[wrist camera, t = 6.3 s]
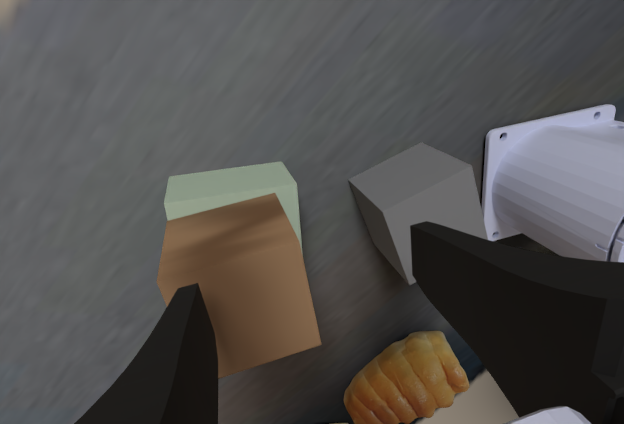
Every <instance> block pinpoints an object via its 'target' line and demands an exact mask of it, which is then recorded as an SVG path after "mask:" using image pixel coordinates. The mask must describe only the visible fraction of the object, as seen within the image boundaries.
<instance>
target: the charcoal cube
mask: <svg viewBox="0 0 624 424" xmlns="http://www.w3.org/2000/svg"><path fill="white" fill-rule="evenodd" d="M348 181H349V183H350V186H351V188H352V191H353V193H354V196H355V198H356V201H357V203H358V206H359V208H360V211H361V213H362V216H363V218H364V221H365V223H366V226H367V228H368V231H369V233H370V236H371V238H372V241H373V243H374V245H375V246H376V247H377V248H378V249H379V251H380V252H381V253H382V254H383V255H384V256H385V257H386V259H387V260H388V261H389V262H390V263H391V264H392V266H393V267H394V268H395V269H396V270H397V271H398V273H399V274H400V275H401V276H402V277H403V278H404V280H405V281H406V282H407V283H408V284H409V285H411V284H413V283H415V282H416V280H415V278H414V277H413V275H412V256H411V233H410V225H414V224H418V223H422V222H425V221H428V222H432V223H436V224H439V225H443V226H446V227H449V228H452V229H455V230H458V231H461V232H464V233H467V234H470V235H474V236H477V237H480V238H483V239H486V240H488V237H487V232H486V228H485V223H484V219H483V214H482V210H481V205H480V201H479V196H478V192H477V187H476V183H475V178H474V174H473V169H472V166H471V165H469V164H467V163H465V162H463V161H461V160H458V159H456V158H454V157H452V156H450V155H448V154H446V153H443V152H441V151H439V150H437V149H435V148H433V147H430V146H428V145H426V144H424V143H422V142H421V143H419V144H417V145H415V146H413V147H411V148H409V149H407V150H405V151H403V152H401V153H399V154H397V155H395V156H393V157H391V158H389V159H387V160H385V161H384V162H382V163H380V164H378V165H376V166H374V167H372V168H370V169H368V170H366V171H364V172H362V173H360V174H358V175H356V176H354V177H352V178H350V179H348Z"/></svg>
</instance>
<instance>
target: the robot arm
mask: <svg viewBox="0 0 624 424" xmlns="http://www.w3.org/2000/svg"><path fill="white" fill-rule="evenodd" d="M594 114H595V115H594ZM614 116H615V106H613V105H610V104H605V105H601V106H596V107H592V108H587V109H583V110H578V111H574V112H569V113H565V114H560V115H555V116H551V117H546V118H542V119H537V120H533V121H528V122H524V123H519V124H515V125H510V126H506V127H501V128H496V129H493V130H490V131H489V132H488V134H487V135H486V142H485V158H484V175H483V192H482V209H481V210H482V214H483V219H484V223H485V228H486V232H487V237H488V240H486V239H483V238H480V237H477V236H474V235H470V234H467V233H464V232H461V231H458V230H455V229H452V228H449V227H446V226H443V225H439V224H436V223H432V222H428V221H425V222H422V223H418V224H414V225H410V233H411V256H412V275H413V277H414V278H415V280H416V282H417V283H418V285H419V286H420V288H421V289H422V291H423V292H424V294H425V295H426V297H427V298H428V299H429V301H430V302H431V303H432V304H433V305H434V306H435V308H436V309H437V310H438V311H439V312H440V313H441V314H442V316H443V317H444V318H445V319H446V320H447V321H448V322H449V323H450V325H451V326H452V327H453V328H454V329H455V330H456V331H457V332H458V334H459V335H460V336H461V337H462V338H463V339H464V340H465V342H466V343H467V344H468V345H469V346H470V347H471V349H472V350H473V351H474V352H475V354H476V355H477V356H478V357H479V359H480V360H481V362H482V363H483V364H484V366H485V367H486V369H487V370H488V371H489V373H490V374H491V376H492V377H493V378H494V380H495V381H496V383H497V384H498V386H499V387H500V389H501V390H502V392H503V393H504V395H505V396H506V398H507V399H508V400H509V402H510V403H511V405H512V407H513V408H514V409H515V411H516V413H517V414H518V416H519V418H517V419H514V420H512V421H509V422H507V423H504V424H624V122H619V121H614ZM502 133H503V136H502V138H501V139H500V135H501V134H502ZM494 232H495V234H494V235H493V233H494ZM521 233H523V234H524V235H526V236H528V237H529V238H531V239H533V240H534V241H536V242H538V243H539V244H541V245H543V246H545V247H546V248H548V249H550V250H551V251H553V252H555V253H556V254H558V255H560V256H556V255H549V254H544V253H539V252H534V251H529V250H524V249H520V248H516V247H512V246H508V245H504V244H501V243H497V242H493V241H496V240H499V239H503V238H506V237H510V236H514V235H517V234H521ZM74 424H218V355H217V346H216V339H215V332H214V329H213V326H212V323H211V320H210V317H209V314H208V311H207V308H206V305H205V302H204V300H203V297H202V294H201V291H200V288H199V285H198V283H196V284H192V285H188V286H184V287H181V288H178V289H177V291H176V292H175V294H174V296H173V297H172V299H171V301H170V303H169V304H168V306H167V308H166V310H165V311H164V313H163V315H162V317H161V318H160V320H159V322H158V323H157V325H156V326H155V328H154V330H153V331H152V333H151V335H150V336H149V338H148V339H147V341H146V342H145V343H144V345H143V346H142V348H141V349H140V351H139V352H138V354H137V355H136V356H135V358H134V359H133V360H132V362H131V363H130V364H129V366H128V367H127V368H126V369H125V371H124V372H123V373H122V374H121V375H120V376H119V378H118V379H117V380H116V381H115V382H114V384H113V385H112V386H111V387H110V388H109V389H108V390H107V391H106V392H105V393H104V394H103V395H102V396H101V397H100V398H99V399H98V400H97V402H96V403H95V404H94V405H93V406H92V407H91V408H90V409H89V410H88V411H87V412H86V413H85V414H84V415H83V416H82V417H81V418H80V419H79V420H78V421H77V422H75V423H74Z"/></svg>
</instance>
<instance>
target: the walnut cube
mask: <svg viewBox="0 0 624 424" xmlns="http://www.w3.org/2000/svg"><path fill="white" fill-rule="evenodd" d="M196 283H198V285H199V288H200V291H201V294H202V297H203V300H204V302H205V305H206V308H207V311H208V314H209V317H210V320H211V323H212V326H213V329H214V332H215V339H216V346H217V355H218V379H219V378H222V377H225V376H228V375H231V374H234V373H237V372H240V371H243V370H246V369H249V368H252V367H255V366H258V365H261V364H264V363H267V362H271V361H274V360H277V359H280V358H283V357H286V356H289V355H292V354H295V353H298V352H301V351H304V350H307V349H310V348H313V347H316V346H319V345H321V340H320V335H319V331H318V326H317V321H316V317H315V312H314V307H313V303H312V298H311V293H310V289H309V284H308V280H307V275H306V270H305V266H304V261H303V256H302V252H301V247H300V242H299V240H298V238H297V236H296V234H295V232H294V230H293V228H292V226H291V224H290V222H289V219H288V217H287V215H286V213H285V211H284V209H283V207H282V205H281V203H280V201H279V199H278V197H277V195H276V193H271V194H268V195H264V196H260V197H256V198H252V199H249V200H245V201H241V202H237V203H233V204H229V205H226V206H222V207H218V208H214V209H210V210H207V211H203V212H199V213H195V214H191V215H188V216H184V217H180V218H176V219H172V220H169V221H167V225H166V230H165V236H164V242H163V248H162V254H161V259H160V265H159V271H158V277H157V284H158V286H159V289H160V291H161V293H162V296H163V298H164V300H165V303H166V305H167V306H168V304H169V303H170V301H171V299H172V297H173V296H174V294H175V292H176V291H177V289H178V288H181V287H184V286H188V285H192V284H196Z"/></svg>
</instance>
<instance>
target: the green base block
mask: <svg viewBox="0 0 624 424" xmlns="http://www.w3.org/2000/svg"><path fill="white" fill-rule="evenodd" d="M271 193H276V195H277V197H278V199H279V201H280V203H281V205H282V207H283V209H284V211H285V213H286V215H287V217H288V219H289V222H290V224H291V226H292V228H293V230H294V232H295V234H296V236H297V238H298V240H299V242H300V247H301V252H302V242H301V230H300V217H299V205H298V192H297V183H296V182H295V180H294V179H293V177H292V176H291V175H290V173H289V172H288V170H287V169H286V167H285V166H284V164H283V163H282V162H273V163H266V164H259V165H251V166H244V167H236V168H229V169H222V170H214V171H207V172H200V173H192V174H185V175H178V176H170V177H169V180H168V185H167V190H166V195H165V201H164V206H165V210H166V214H167V219H168V221H169V220H172V219H176V218H180V217H184V216H188V215H191V214H195V213H199V212H203V211H207V210H210V209H214V208H218V207H222V206H226V205H229V204H233V203H237V202H241V201H245V200H249V199H252V198H256V197H260V196H264V195H268V194H271ZM302 256H303V255H302Z"/></svg>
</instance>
